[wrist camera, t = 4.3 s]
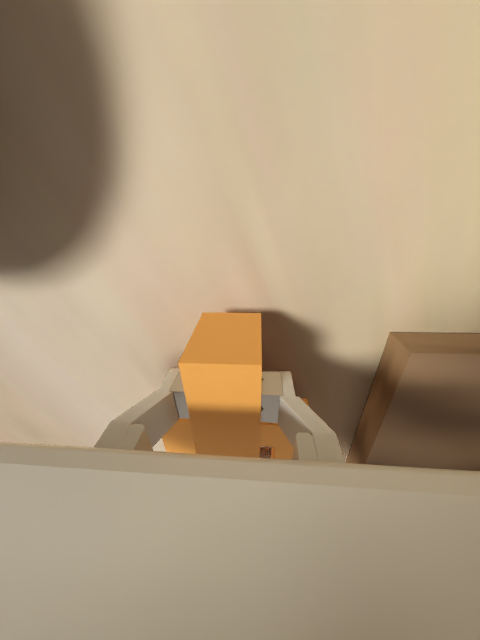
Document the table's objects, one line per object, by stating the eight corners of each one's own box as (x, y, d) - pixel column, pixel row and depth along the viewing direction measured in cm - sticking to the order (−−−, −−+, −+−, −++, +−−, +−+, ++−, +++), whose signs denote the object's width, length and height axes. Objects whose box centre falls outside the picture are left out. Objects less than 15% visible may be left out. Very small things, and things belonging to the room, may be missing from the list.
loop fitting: (147, 312, 12) (99, 360, 8) (321, 313, 11) (351, 367, 7) (187, 468, 19) (171, 529, 15) (294, 475, 18) (302, 540, 15)
